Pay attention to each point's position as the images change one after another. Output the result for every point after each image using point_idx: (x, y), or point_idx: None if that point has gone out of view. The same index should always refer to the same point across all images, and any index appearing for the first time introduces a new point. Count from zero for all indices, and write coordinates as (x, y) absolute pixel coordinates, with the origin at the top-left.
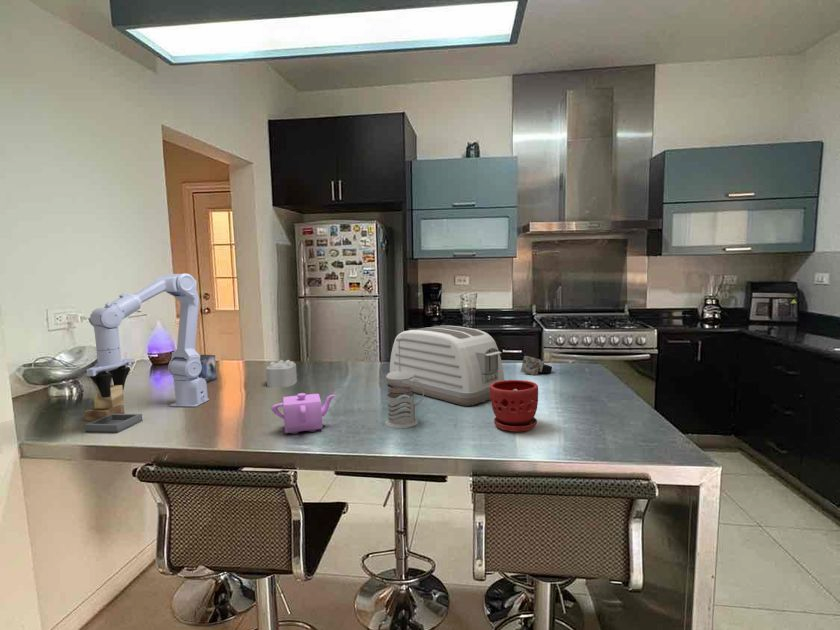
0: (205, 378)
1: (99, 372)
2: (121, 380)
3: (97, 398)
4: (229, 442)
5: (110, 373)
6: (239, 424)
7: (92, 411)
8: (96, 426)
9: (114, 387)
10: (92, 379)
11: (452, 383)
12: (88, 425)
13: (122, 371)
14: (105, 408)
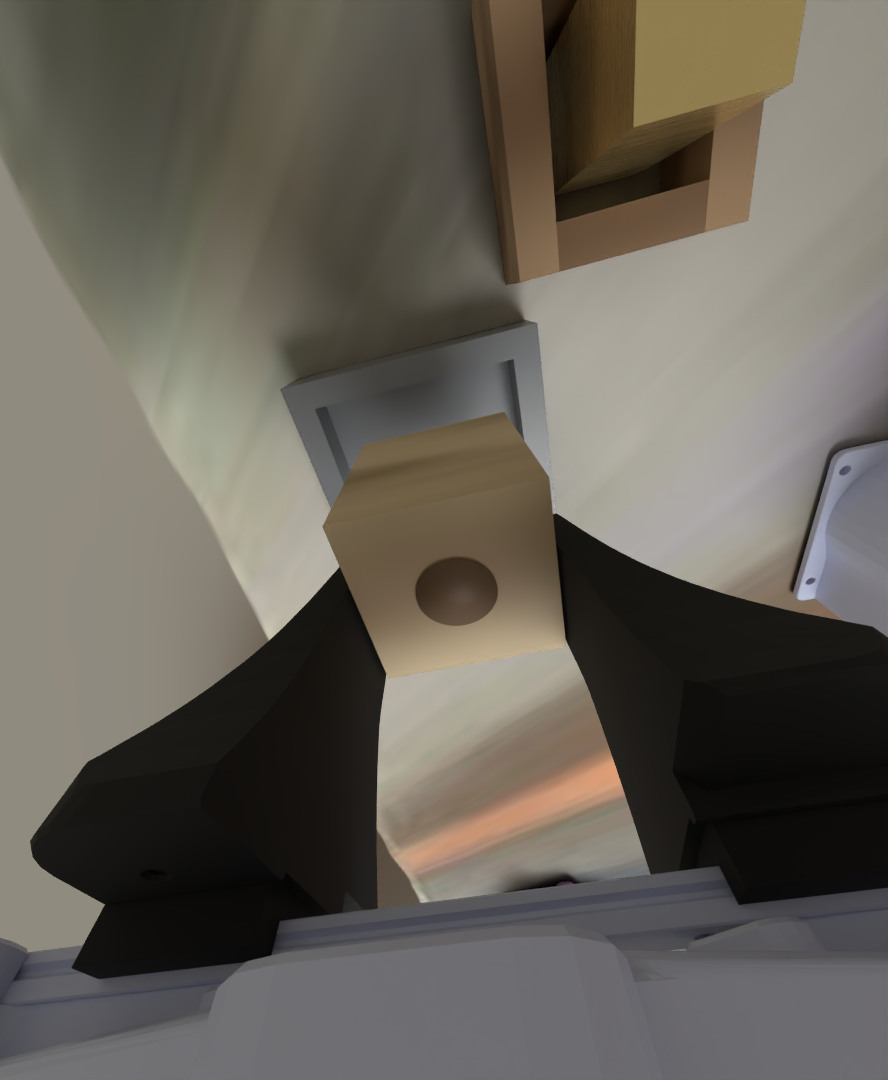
0: None
1: (169, 992)
2: (591, 684)
3: (348, 475)
4: (436, 851)
5: (641, 648)
6: (564, 812)
7: (497, 94)
8: (319, 470)
9: (451, 663)
10: (155, 735)
11: None
12: (293, 418)
13: (654, 846)
14: (595, 170)
